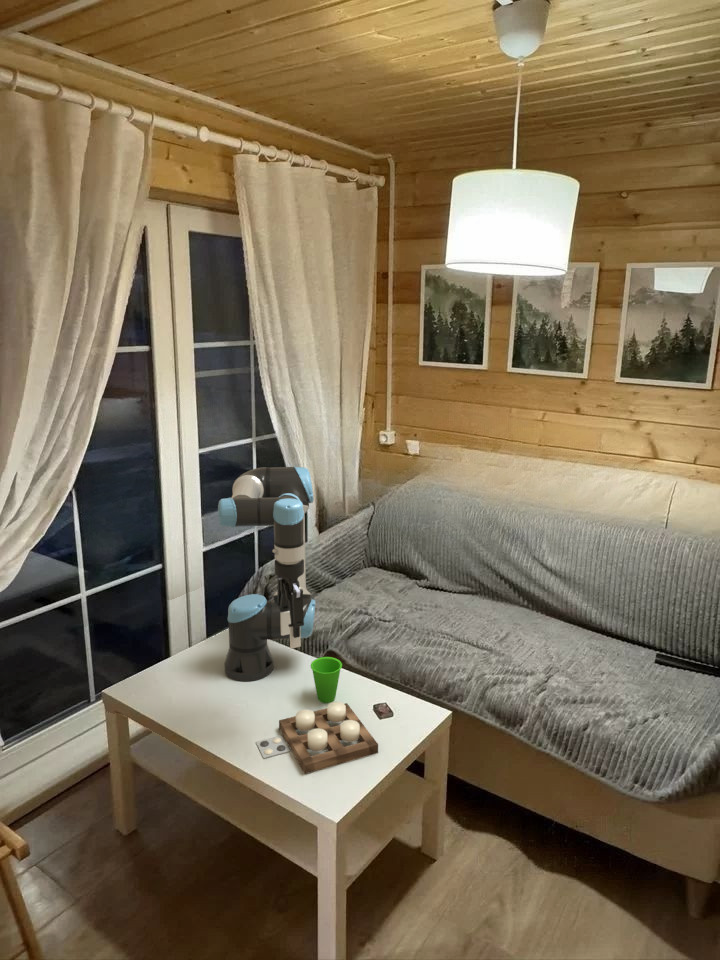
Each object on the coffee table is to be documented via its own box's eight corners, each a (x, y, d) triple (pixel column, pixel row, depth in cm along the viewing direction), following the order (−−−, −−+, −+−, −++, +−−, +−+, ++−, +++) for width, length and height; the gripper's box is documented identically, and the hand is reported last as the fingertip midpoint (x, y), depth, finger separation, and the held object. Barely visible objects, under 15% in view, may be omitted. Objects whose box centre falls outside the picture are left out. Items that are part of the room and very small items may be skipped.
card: (255, 742, 179) (255, 741, 178) (281, 736, 181) (281, 734, 181) (263, 759, 172) (263, 757, 172) (290, 751, 175) (290, 750, 175)
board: (279, 728, 185) (279, 720, 184) (346, 710, 193) (346, 703, 192) (304, 774, 167) (304, 765, 166) (378, 752, 175) (378, 744, 175)
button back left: (324, 714, 186) (324, 704, 185) (341, 709, 188) (341, 700, 187) (331, 724, 182) (331, 714, 181) (348, 719, 184) (348, 709, 183)
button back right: (293, 722, 182) (293, 712, 182) (310, 717, 184) (310, 707, 184) (299, 732, 178) (299, 722, 177) (317, 727, 180) (317, 718, 179)
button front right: (304, 741, 175) (304, 731, 174) (323, 736, 177) (323, 726, 176) (311, 753, 170) (311, 742, 169) (330, 747, 172) (330, 737, 171)
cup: (337, 709, 193) (338, 674, 191) (307, 705, 195) (306, 671, 192) (345, 692, 202) (345, 658, 199) (315, 688, 204) (315, 655, 201)
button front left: (337, 732, 178) (337, 722, 177) (354, 728, 180) (354, 718, 179) (344, 743, 174) (344, 733, 173) (362, 738, 176) (362, 728, 175)
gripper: (263, 548, 182) (265, 627, 188) (287, 575, 164) (289, 661, 170) (290, 544, 185) (291, 622, 191) (316, 570, 167) (317, 654, 173)
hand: (290, 640), depth 181 cm, fingers open, 7 cm apart
